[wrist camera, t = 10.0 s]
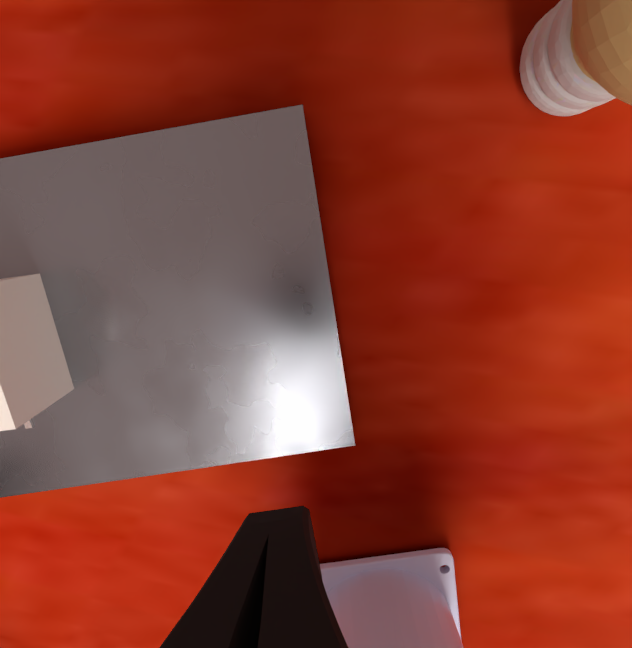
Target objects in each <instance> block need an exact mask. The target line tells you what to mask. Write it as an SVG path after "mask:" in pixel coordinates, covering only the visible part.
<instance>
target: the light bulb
mask: <svg viewBox="0 0 632 648" xmlns="http://www.w3.org/2000/svg"><path fill="white" fill-rule="evenodd" d="M519 69H520V77H521V83H522V86H523V89H524V92H525V93H526V95H527V97H528V98H529V100H530V101H531V102H532V103H533V104H534V105H535V106H536V107H537V108H539V109H540V110H542V111H543V112H545V113H548V114H551V115H555V116H572V115H576V114H580V113H582V112H585V111H587V110H589V109H591V108H593V107H596V106H599V105H602V104H604V103H606V102H609V101H611V100H613V99H615V98H617V99H619V100H621V101H623V102H625V103H627V104H630V105H632V0H561V1H559V2H558V4H557V5H556V6H555V7H554V8H552V9H551V10H550V11H549V12H548V13H546V14H545V15H544V16H543V17H542V18H541V19H540V20H539V21H538V22H537V23H536V25H535V26H534V28H533V29H532V31H531V32H530V34H529V35H528V37H527V39H526V42H525V44H524V46H523V50H522V54H521V60H520V68H519Z"/></svg>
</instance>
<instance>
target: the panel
mask: <svg viewBox="0 0 632 648" xmlns="http://www.w3.org/2000/svg"><path fill="white" fill-rule="evenodd" d="M33 274H40V276H41V279H42V282H43V286H44V289H45V293H46V296H47V299H48V303H49V306H50V309H51V313H52V316H53V319H54V323H55V326H56V329H57V333H58V336H59V339H60V343H61V346H62V349H63V353H64V356H65V359H66V363H67V366H68V369H69V373H70V376H71V379H72V383H73V386H74V389H73V390H72V391H71V392H69V393H68V394H66V395H65V396H63V397H62V398H60V399H59V400H57V401H56V402H55V403H53V404H52V405H50V406H49V407H47V408H46V409H44V410H43V411H42V412H40V413H39V414H37V415H36V416H34V417H33V418H31V419H30V420H28V421H27V422H26V423H24V424H23V425H21V426H20V427H18V428H17V429H13V430H5V431H0V497H7V496H13V495H20V494H27V493H34V492H41V491H48V490H54V489H61V488H68V487H75V486H82V485H89V484H95V483H102V482H109V481H116V480H123V479H130V478H137V477H143V476H150V475H157V474H164V473H171V472H178V471H184V470H191V469H198V468H205V467H212V466H219V465H225V464H232V463H239V462H246V461H253V460H260V459H266V458H273V457H280V456H287V455H294V454H301V453H308V452H314V451H321V450H328V449H335V448H342V447H349V446H355V440H354V433H353V427H352V420H351V414H350V408H349V401H348V395H347V388H346V382H345V375H344V369H343V362H342V356H341V349H340V343H339V337H338V330H337V324H336V317H335V311H334V304H333V298H332V291H331V285H330V278H329V272H328V266H327V259H326V253H325V246H324V240H323V233H322V227H321V220H320V214H319V207H318V201H317V195H316V188H315V182H314V175H313V169H312V162H311V156H310V149H309V143H308V137H307V130H306V124H305V117H304V111H303V104H302V105H297V106H291V107H286V108H280V109H275V110H269V111H263V112H258V113H252V114H247V115H241V116H235V117H230V118H224V119H219V120H213V121H208V122H202V123H196V124H191V125H185V126H180V127H174V128H168V129H163V130H157V131H152V132H146V133H140V134H135V135H129V136H124V137H118V138H113V139H107V140H101V141H96V142H90V143H85V144H79V145H73V146H68V147H62V148H57V149H51V150H46V151H40V152H34V153H29V154H23V155H18V156H12V157H6V158H1V159H0V279H3V278H11V277H18V276H25V275H33Z"/></svg>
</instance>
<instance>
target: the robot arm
mask: <svg viewBox="0 0 632 648" xmlns="http://www.w3.org/2000/svg"><path fill="white" fill-rule="evenodd" d="M443 565H446V566H445V567H441V566H443ZM160 648H464V647H463V644H462V641H461V632H460V622H459V611H458V601H457V591H456V580H455V570H454V560H453V556H452V554H451V552H450V551H449V550H448V549H446V548H435V549H428V550H420V551H413V552H405V553H398V554H391V555H383V556H376V557H369V558H361V559H354V560H346V561H339V562H332V563H324V564H320V563H319V558H318V553H317V548H316V543H315V538H314V532H313V527H312V522H311V517H310V512H309V509H307V508H306V507H304V506H299V507H292V508H285V509H278V510H271V511H264V512H257V513H250V514H249V515H248V516H247V517H246V519H245V520H244V522H243V523H242V525H241V527H240V528H239V530H238V532H237V533H236V535H235V537H234V538H233V540H232V542H231V543H230V545H229V546H228V548H227V550H226V551H225V553H224V554H223V556H222V558H221V559H220V561H219V562H218V564H217V566H216V567H215V569H214V570H213V572H212V573H211V575H210V576H209V578H208V579H207V581H206V582H205V584H204V585H203V587H202V588H201V590H200V591H199V593H198V594H197V596H196V597H195V599H194V600H193V602H192V603H191V605H190V606H189V608H188V609H187V610H186V612H185V613H184V615H183V616H182V617H181V619H180V620H179V621H178V623H177V624H176V626H175V627H174V628H173V630H172V631H171V632H170V634H169V635H168V637H167V638H166V639H165V641H164V642H163V643H162V645H161V646H160Z"/></svg>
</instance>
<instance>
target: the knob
mask: <svg viewBox="0 0 632 648" xmlns="http://www.w3.org/2000/svg"><path fill="white" fill-rule="evenodd" d="M73 389H74V386H73V383H72V379H71V376H70V373H69V369H68V366H67V363H66V359H65V356H64V353H63V349H62V346H61V343H60V339H59V336H58V333H57V329H56V326H55V323H54V319H53V316H52V313H51V309H50V306H49V303H48V299H47V296H46V293H45V289H44V286H43V282H42V279H41V276H40V274H33V275H25V276H18V277H11V278H3V279H0V431H5V430H13V429H17V428H18V427H20V426H21V425H23V424H24V423H26V422H27V421H28V420H30V419H31V418H33V417H34V416H36V415H37V414H39V413H40V412H42V411H43V410H44V409H46V408H47V407H49V406H50V405H52V404H53V403H55V402H56V401H57V400H59V399H60V398H62V397H63V396H65V395H66V394H68V393H69V392H71V391H72V390H73Z"/></svg>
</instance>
